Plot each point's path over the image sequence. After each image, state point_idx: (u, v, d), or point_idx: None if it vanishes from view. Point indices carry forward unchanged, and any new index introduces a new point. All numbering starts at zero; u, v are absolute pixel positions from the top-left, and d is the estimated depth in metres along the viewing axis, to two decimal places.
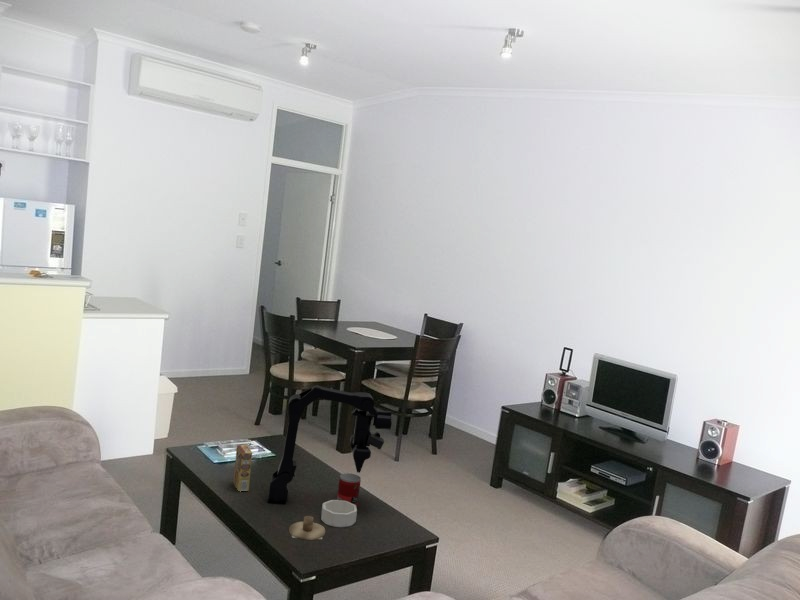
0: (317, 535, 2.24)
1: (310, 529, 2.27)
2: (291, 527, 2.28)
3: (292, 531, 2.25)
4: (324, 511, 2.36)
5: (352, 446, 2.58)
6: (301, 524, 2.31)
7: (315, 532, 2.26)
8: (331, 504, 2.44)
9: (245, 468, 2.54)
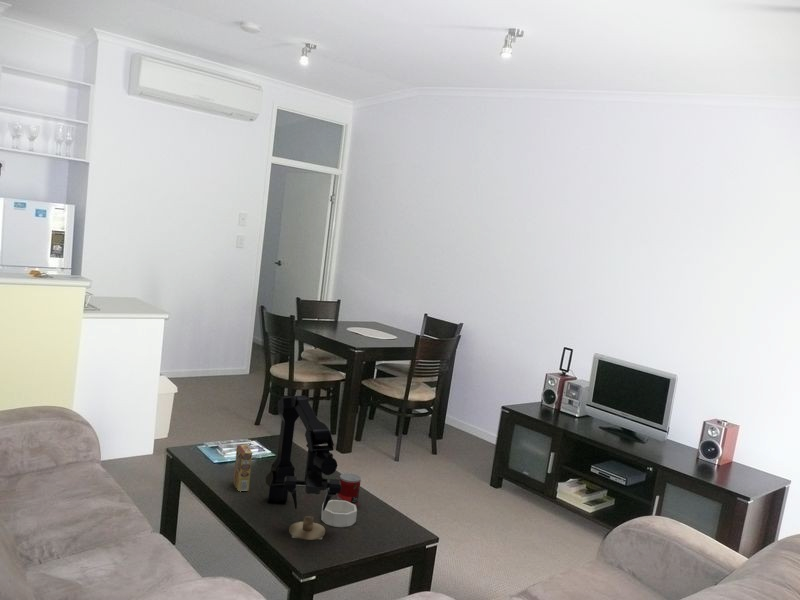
0: (317, 535, 2.24)
1: (310, 529, 2.27)
2: (291, 527, 2.28)
3: (292, 531, 2.25)
4: (324, 511, 2.36)
5: (326, 489, 2.30)
6: (301, 524, 2.31)
7: (315, 532, 2.26)
8: (331, 504, 2.44)
9: (245, 468, 2.54)
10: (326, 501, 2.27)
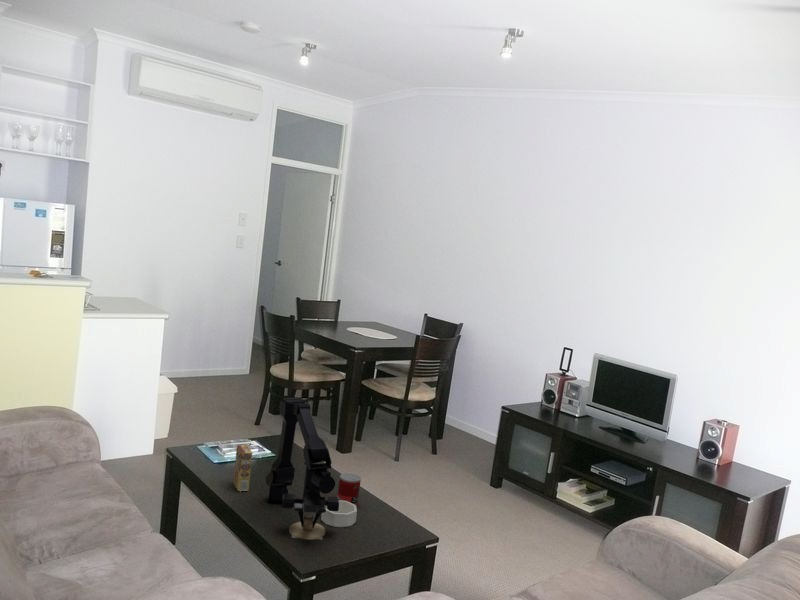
0: (317, 535, 2.24)
1: (310, 529, 2.27)
2: (291, 527, 2.28)
3: (292, 531, 2.25)
4: None
5: None
6: None
7: (315, 532, 2.26)
8: None
9: (245, 468, 2.54)
10: (316, 518, 2.27)
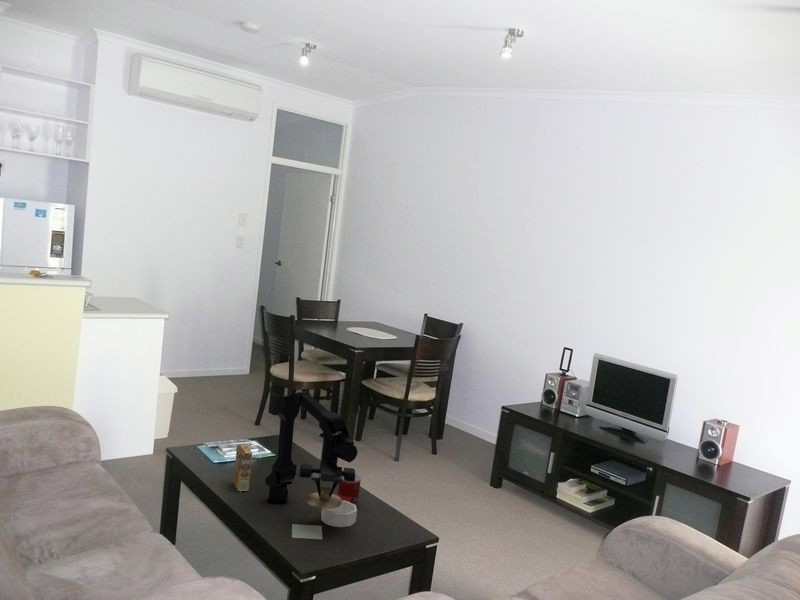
0: (333, 504, 2.29)
1: (327, 499, 2.31)
2: (308, 497, 2.33)
3: (309, 500, 2.30)
4: (324, 511, 2.36)
5: None
6: None
7: (331, 502, 2.31)
8: None
9: (245, 468, 2.54)
10: (332, 488, 2.31)
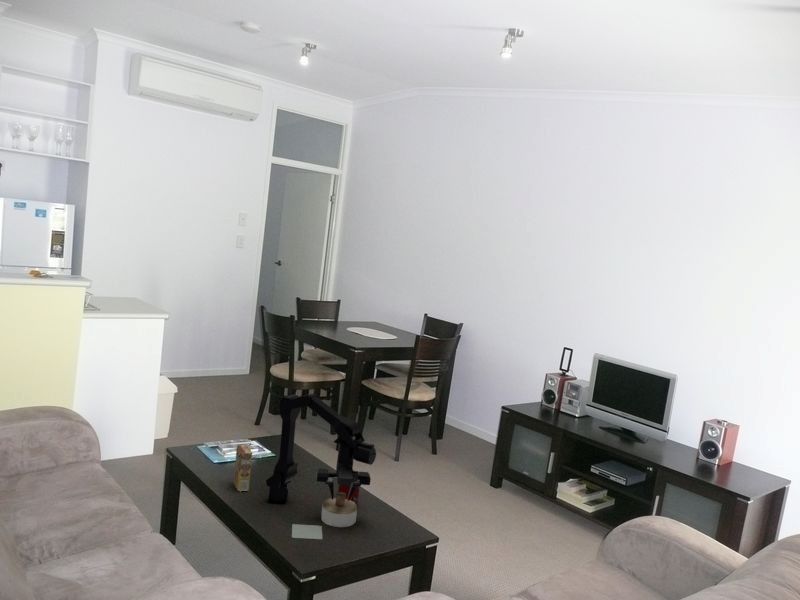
0: (349, 510, 2.36)
1: (342, 504, 2.39)
2: (324, 503, 2.40)
3: (326, 506, 2.37)
4: (324, 511, 2.36)
5: None
6: (333, 500, 2.43)
7: (347, 507, 2.38)
8: None
9: (245, 468, 2.54)
10: (351, 492, 2.39)
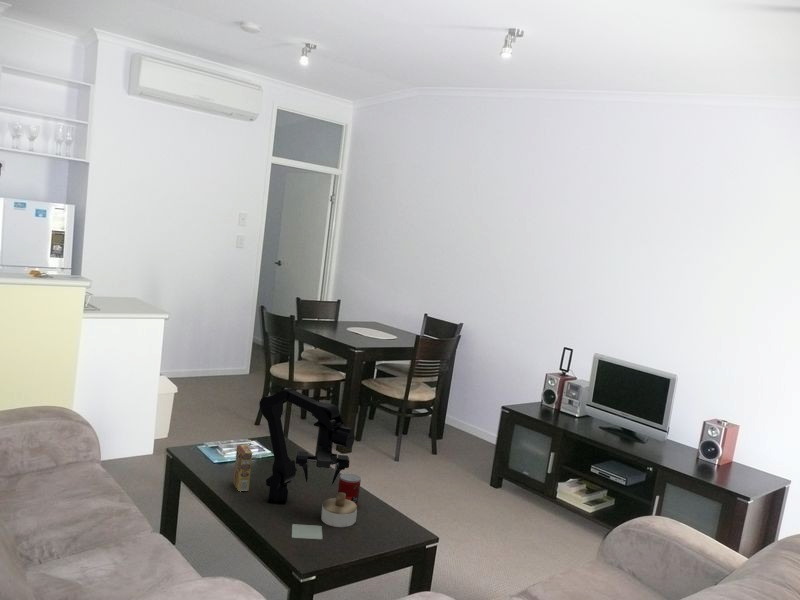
0: (349, 510, 2.36)
1: (342, 504, 2.39)
2: (324, 503, 2.40)
3: (326, 506, 2.37)
4: (324, 511, 2.36)
5: None
6: (333, 500, 2.43)
7: (347, 507, 2.38)
8: None
9: (245, 468, 2.54)
10: (335, 475, 2.41)
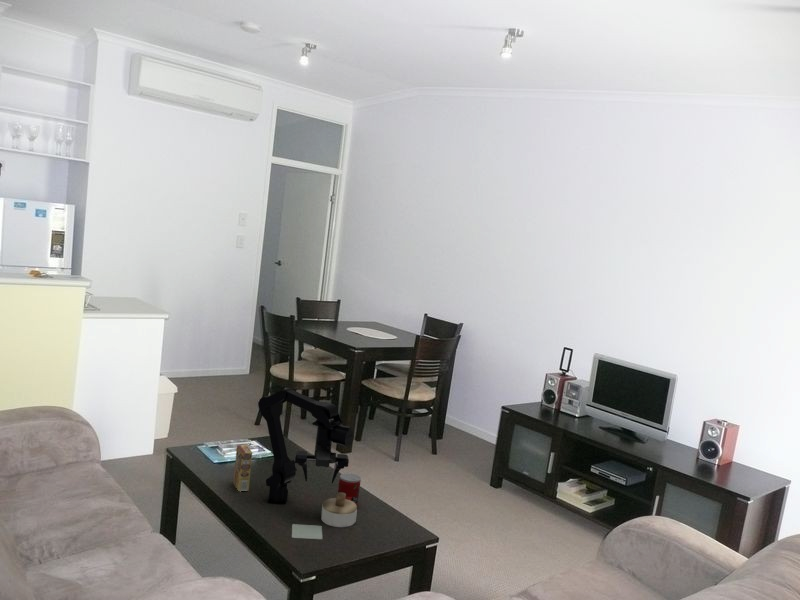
0: (349, 510, 2.36)
1: (342, 504, 2.39)
2: (324, 503, 2.40)
3: (326, 506, 2.37)
4: (324, 511, 2.36)
5: (335, 463, 2.45)
6: (333, 500, 2.43)
7: (347, 507, 2.38)
8: None
9: (245, 468, 2.54)
10: (334, 474, 2.41)
